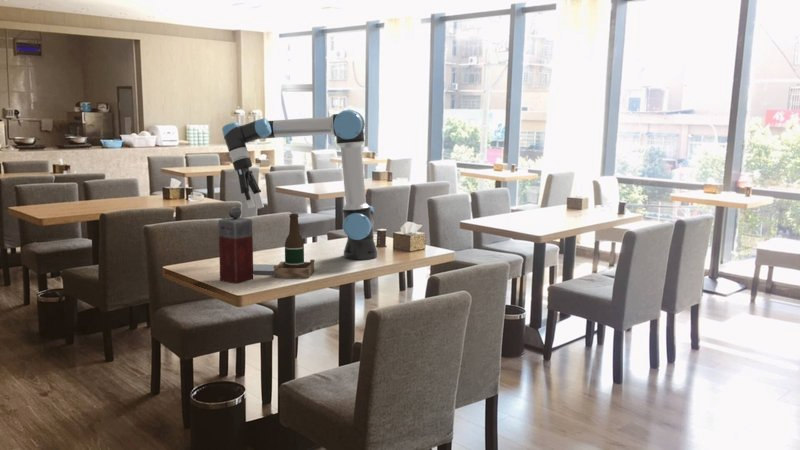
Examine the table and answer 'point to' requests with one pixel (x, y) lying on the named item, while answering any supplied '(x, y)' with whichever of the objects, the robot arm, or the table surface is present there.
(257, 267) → the trivet
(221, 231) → the red square bottle
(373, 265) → the table surface
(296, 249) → the beer bottle
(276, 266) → the wooden tray
